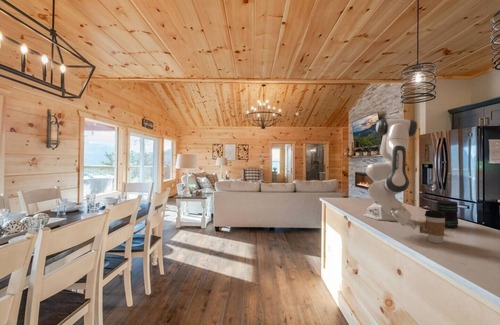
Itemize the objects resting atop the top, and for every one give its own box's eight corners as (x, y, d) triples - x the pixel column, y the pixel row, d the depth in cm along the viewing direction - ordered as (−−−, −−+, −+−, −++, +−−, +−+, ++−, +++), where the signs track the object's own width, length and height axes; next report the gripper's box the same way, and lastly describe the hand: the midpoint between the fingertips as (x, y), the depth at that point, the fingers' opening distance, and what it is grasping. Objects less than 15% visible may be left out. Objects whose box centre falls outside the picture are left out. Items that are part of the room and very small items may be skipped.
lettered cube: (419, 232, 132) (419, 221, 132) (420, 230, 137) (419, 219, 137) (433, 234, 128) (432, 223, 128) (433, 231, 133) (432, 220, 133)
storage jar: (462, 229, 137) (462, 203, 137) (443, 228, 139) (442, 203, 139) (451, 224, 147) (450, 200, 147) (433, 224, 149) (433, 200, 149)
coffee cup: (429, 243, 115) (428, 212, 115) (422, 237, 123) (421, 209, 123) (450, 244, 112) (449, 213, 112) (441, 239, 120) (441, 209, 120)
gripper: (395, 206, 119) (419, 228, 113) (400, 200, 135) (421, 220, 129) (385, 214, 122) (408, 236, 116) (391, 207, 138) (411, 227, 132)
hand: (415, 227), depth 123 cm, fingers closed
